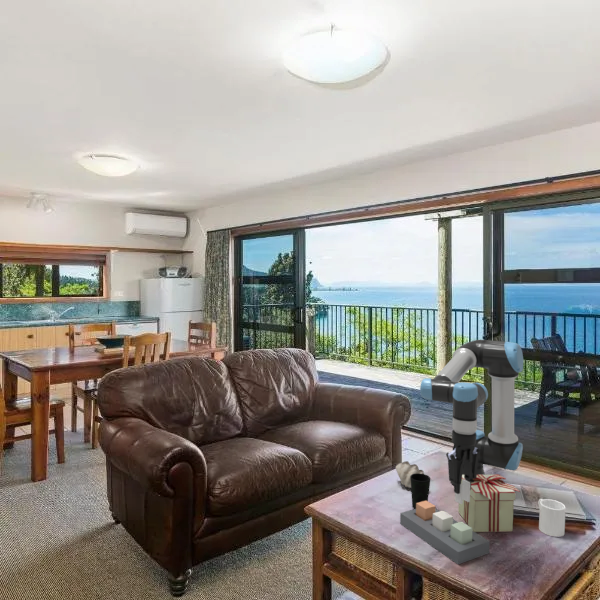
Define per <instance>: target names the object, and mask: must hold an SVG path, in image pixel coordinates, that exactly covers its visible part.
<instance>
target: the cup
mask: <svg viewBox="0 0 600 600" xmlns="http://www.w3.org/2000/svg"><path fill="white" fill-rule="evenodd" d="M410 479H411V488H410V489H411V490H410V491H411V493H410V495H411V505H412V508H413V509H416V503H419V502H422V501H428V502H429V495H430V494H429V493H430V488H431V487H430V486H431V477H430V476H429V475H427V474H426V473H424V474H420V473H416V474H412V475H411V476H410Z"/></svg>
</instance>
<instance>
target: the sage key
mask: <svg viewBox="0 0 600 600" xmlns="http://www.w3.org/2000/svg"><path fill="white" fill-rule="evenodd" d="M457 522H458V523H455V524H452V525H451V536H450V538H452V539H453V540H455V541H456V542H458V543H459V544H461V545H463V544H466V543H469V542H472V531H473V530H472V528H471V527H470V526H469V525H468V524H467V523H466V522H463V521H457Z"/></svg>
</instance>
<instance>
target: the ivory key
mask: <svg viewBox="0 0 600 600" xmlns="http://www.w3.org/2000/svg"><path fill="white" fill-rule="evenodd" d="M439 511H440V510H439ZM453 519H454V516H453V515H451V514H450V513H448V512H446V510H445V511H444V510H441V511H440V512H436V513H433V522H432V526H433V527H435V528H436V529H438V530H439V531H441V532H445V531H449V530H451V525H452V524H453Z"/></svg>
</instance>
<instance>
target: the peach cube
mask: <svg viewBox="0 0 600 600" xmlns="http://www.w3.org/2000/svg"><path fill="white" fill-rule="evenodd" d="M436 506H437V505H434V504H433V503H431V502H430V501H429V500H428V501H422V502H419V503H416V516H418V517H420V518H421V519H423V520H424V521H427V520H430V519H433V513H435V508H436ZM436 509H437V508H436Z"/></svg>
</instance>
